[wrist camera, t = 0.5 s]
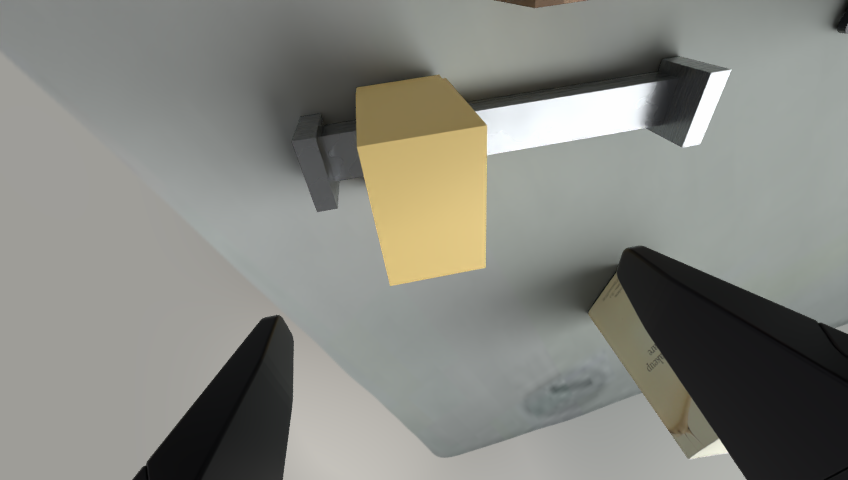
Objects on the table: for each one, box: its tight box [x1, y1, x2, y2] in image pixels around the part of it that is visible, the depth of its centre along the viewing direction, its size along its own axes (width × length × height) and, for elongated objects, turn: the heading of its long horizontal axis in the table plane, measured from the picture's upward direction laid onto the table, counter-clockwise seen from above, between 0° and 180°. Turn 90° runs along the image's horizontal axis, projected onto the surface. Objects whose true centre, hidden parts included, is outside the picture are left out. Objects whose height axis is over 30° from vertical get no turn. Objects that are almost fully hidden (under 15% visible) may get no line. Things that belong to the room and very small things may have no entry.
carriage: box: [356, 75, 487, 286], centre depth 15 cm, size 4×6×8 cm, turn 6°
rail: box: [292, 56, 731, 212], centre depth 17 cm, size 20×4×3 cm, turn 96°
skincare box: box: [588, 272, 728, 459], centre depth 25 cm, size 6×4×12 cm
